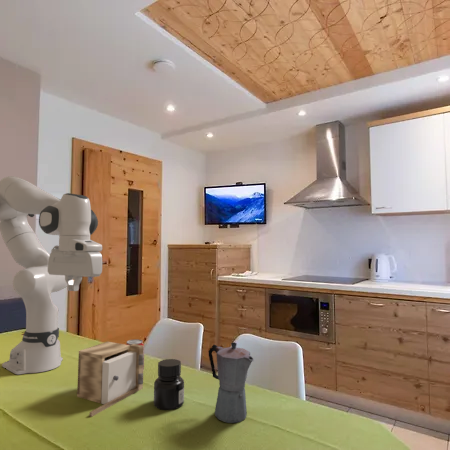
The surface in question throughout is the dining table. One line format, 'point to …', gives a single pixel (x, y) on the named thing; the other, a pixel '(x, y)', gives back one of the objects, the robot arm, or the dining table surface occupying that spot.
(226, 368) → the moka pot
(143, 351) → the soda can
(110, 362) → the door
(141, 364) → the cabinet
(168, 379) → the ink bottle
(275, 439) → the dining table surface
